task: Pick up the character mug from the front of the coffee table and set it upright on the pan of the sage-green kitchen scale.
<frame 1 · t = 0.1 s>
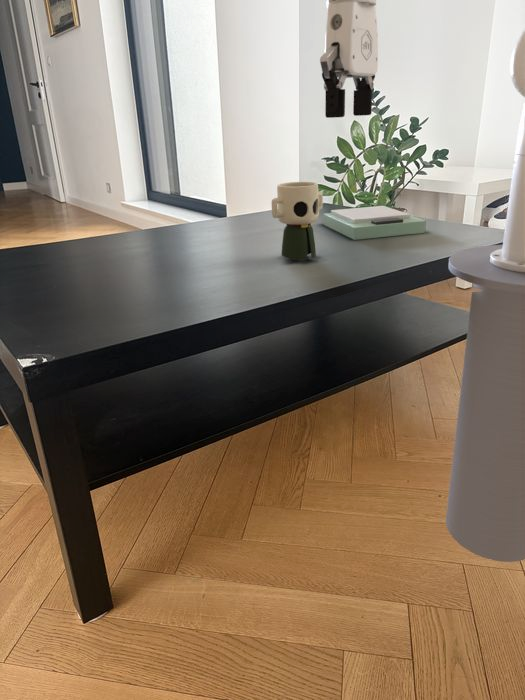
hand: (349, 116, 91), 23 cm above the table, tool pointing down, fingers open, 9 cm apart
character mug: (298, 259, 99), on the table
scale: (371, 228, 121), on the table
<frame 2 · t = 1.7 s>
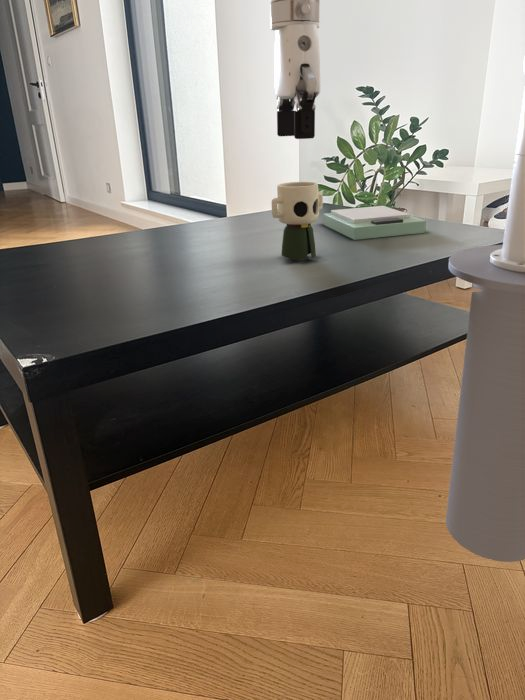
hand: (295, 137, 91), 21 cm above the table, tool pointing down, fingers open, 9 cm apart
nothing on the table moved.
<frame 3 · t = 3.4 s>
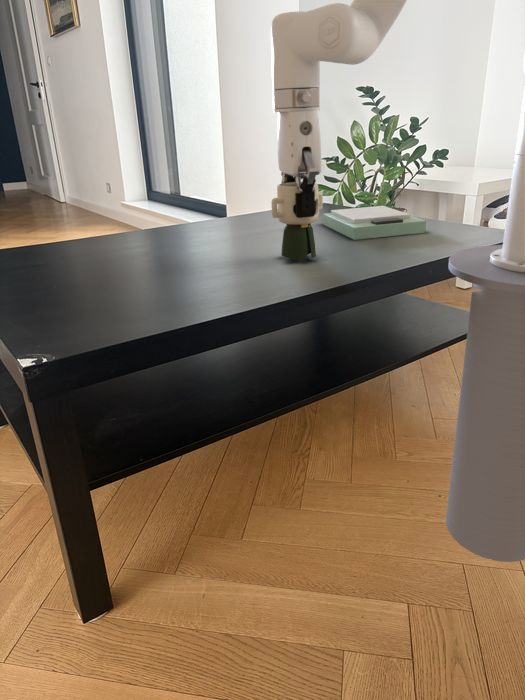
hand: (297, 212, 96), 8 cm above the table, tool pointing down, fingers closed on character mug, 7 cm apart
character mug: (298, 259, 99), on the table, touching gripper
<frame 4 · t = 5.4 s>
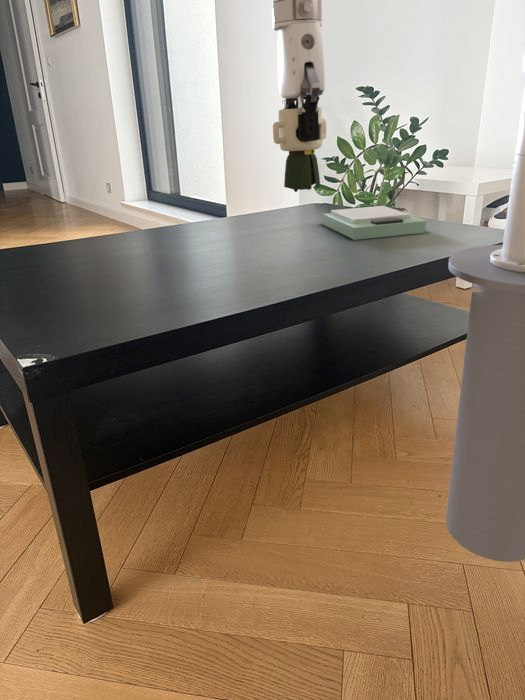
hand: (300, 139, 91), 20 cm above the table, tool pointing down, fingers closed on character mug, 7 cm apart
character mug: (302, 192, 94), point 12 cm above the table, touching gripper
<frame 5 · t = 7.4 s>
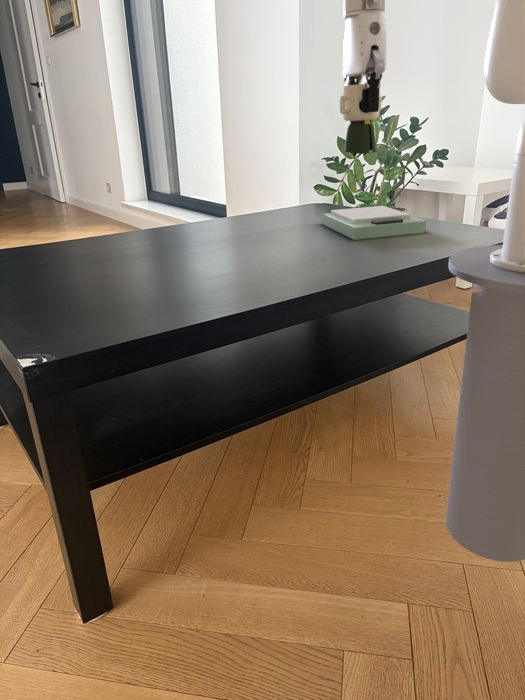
hand: (361, 111, 108), 24 cm above the table, tool pointing down, fingers closed on character mug, 7 cm apart
character mug: (359, 156, 112), point 15 cm above the table, touching gripper
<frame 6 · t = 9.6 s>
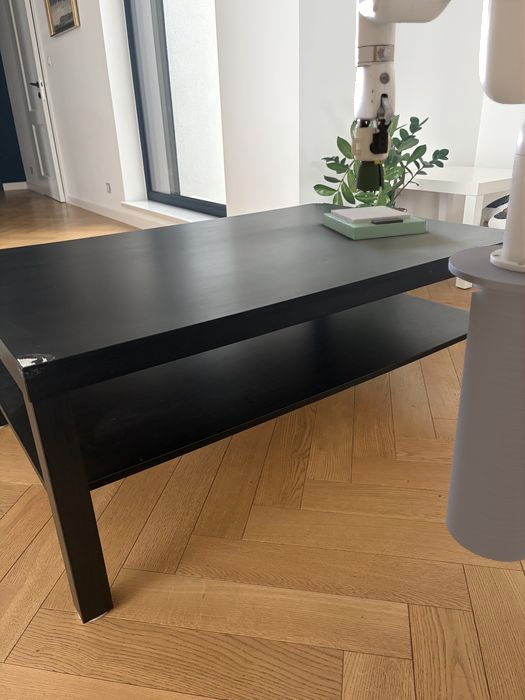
hand: (371, 152, 116), 16 cm above the table, tool pointing down, fingers closed on character mug, 7 cm apart
character mug: (369, 193, 119), point 7 cm above the table, touching gripper
when the fingers open (12 cm above the table, at t = 11.3 s): character mug stays where it is, resting on scale.
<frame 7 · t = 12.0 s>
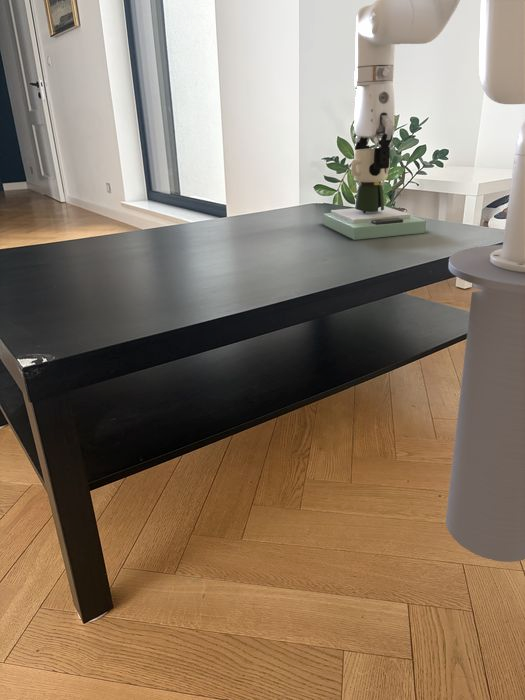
hand: (371, 166, 117), 13 cm above the table, tool pointing down, fingers open, 9 cm apart
character mug: (369, 213, 121), point 3 cm above the table, touching scale
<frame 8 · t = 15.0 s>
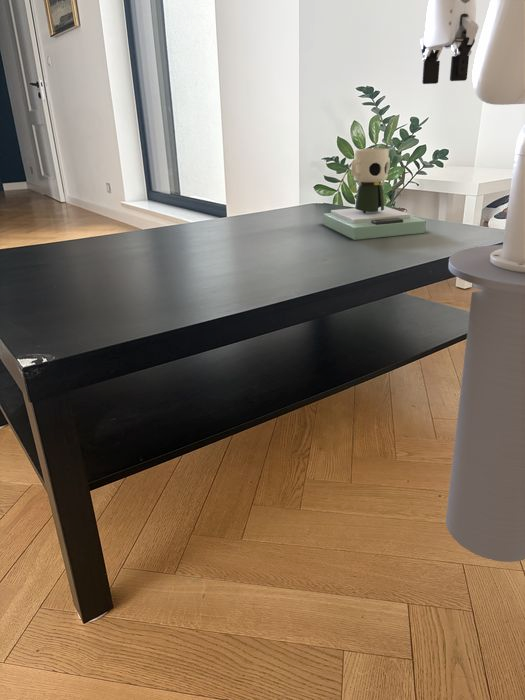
hand: (443, 82, 105), 28 cm above the table, tool pointing down, fingers open, 9 cm apart
nothing on the table moved.
at the end: character mug inside the target area on the scale (0.1 cm from its centre), point 3.1 cm above the scale's base; character mug tilted 0°; the gripper is holding nothing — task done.
